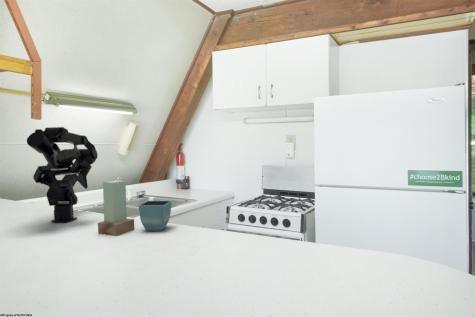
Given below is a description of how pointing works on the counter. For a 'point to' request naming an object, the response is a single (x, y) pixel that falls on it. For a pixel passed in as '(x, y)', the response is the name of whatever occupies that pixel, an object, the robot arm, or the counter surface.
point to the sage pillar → (114, 201)
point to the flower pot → (155, 214)
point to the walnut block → (116, 227)
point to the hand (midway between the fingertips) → (74, 189)
